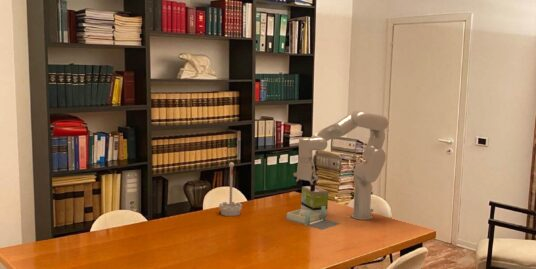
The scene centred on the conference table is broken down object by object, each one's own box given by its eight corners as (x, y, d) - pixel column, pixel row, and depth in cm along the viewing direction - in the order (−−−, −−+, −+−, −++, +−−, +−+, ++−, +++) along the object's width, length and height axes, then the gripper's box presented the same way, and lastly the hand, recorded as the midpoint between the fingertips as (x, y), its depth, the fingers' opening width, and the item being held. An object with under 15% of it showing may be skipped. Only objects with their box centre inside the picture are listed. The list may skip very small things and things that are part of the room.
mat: (302, 214, 304) (302, 213, 304) (340, 224, 286) (340, 223, 286) (283, 219, 292) (283, 218, 292) (321, 230, 273) (321, 229, 273)
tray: (301, 214, 302) (302, 208, 302) (320, 219, 293) (320, 213, 293) (286, 218, 292) (286, 212, 292) (305, 223, 283) (305, 217, 283)
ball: (302, 216, 296) (302, 208, 296) (309, 218, 293) (309, 209, 292) (297, 218, 292) (297, 209, 292) (304, 220, 289) (304, 211, 288)
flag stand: (217, 211, 306) (217, 160, 302) (238, 210, 310) (239, 160, 306) (221, 217, 293) (222, 164, 290) (244, 215, 297) (245, 163, 294)
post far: (322, 219, 294) (323, 205, 293) (326, 220, 292) (326, 206, 291) (320, 220, 292) (320, 206, 291) (323, 221, 290) (324, 207, 289)
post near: (307, 224, 284) (307, 209, 283) (310, 225, 282) (311, 210, 281) (304, 225, 282) (304, 210, 281) (307, 226, 280) (308, 211, 279)
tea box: (300, 210, 311) (301, 186, 310) (314, 209, 316) (316, 185, 314) (312, 216, 298) (314, 191, 296) (327, 215, 302) (329, 190, 301)
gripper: (322, 160, 286) (322, 190, 288) (298, 157, 297) (298, 186, 300) (313, 162, 280) (313, 193, 282) (289, 158, 292) (289, 188, 294)
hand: (305, 189), depth 291 cm, fingers open, 9 cm apart
